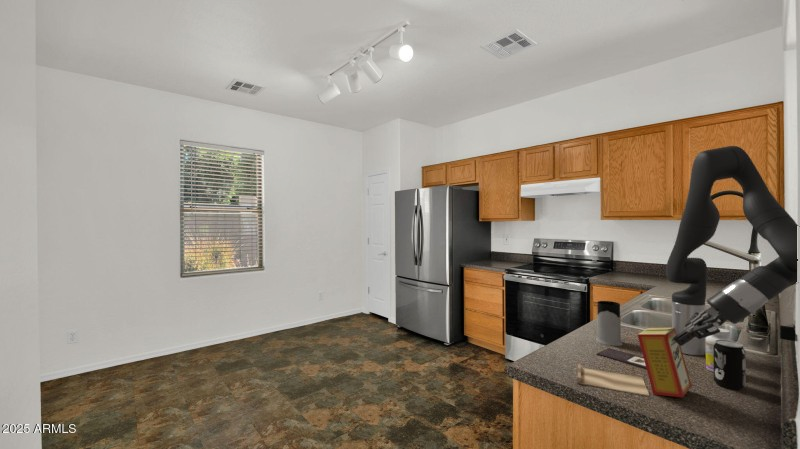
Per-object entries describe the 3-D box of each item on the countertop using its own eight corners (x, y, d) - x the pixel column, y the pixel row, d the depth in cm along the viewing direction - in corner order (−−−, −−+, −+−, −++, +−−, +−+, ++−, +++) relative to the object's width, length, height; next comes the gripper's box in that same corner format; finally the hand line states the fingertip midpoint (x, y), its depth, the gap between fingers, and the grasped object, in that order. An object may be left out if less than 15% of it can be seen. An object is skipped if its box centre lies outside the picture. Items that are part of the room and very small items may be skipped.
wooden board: (577, 368, 112) (577, 362, 112) (642, 378, 104) (642, 372, 104) (577, 383, 101) (577, 377, 101) (649, 396, 94) (649, 389, 94)
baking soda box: (683, 397, 90) (664, 333, 93) (653, 394, 95) (637, 333, 97) (691, 386, 96) (674, 326, 99) (663, 383, 101) (647, 326, 104)
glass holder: (594, 342, 135) (593, 303, 135) (599, 333, 146) (599, 297, 146) (621, 347, 130) (620, 306, 130) (624, 337, 141) (624, 299, 141)
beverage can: (707, 380, 102) (707, 339, 102) (728, 379, 103) (727, 338, 103) (730, 391, 96) (730, 347, 95) (752, 390, 96) (752, 346, 96)
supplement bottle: (727, 368, 110) (727, 327, 110) (740, 377, 104) (739, 333, 104) (701, 365, 113) (701, 325, 113) (712, 374, 106) (711, 331, 106)
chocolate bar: (609, 348, 128) (668, 363, 113) (609, 350, 128) (668, 366, 113) (596, 353, 123) (657, 370, 108) (596, 356, 123) (657, 374, 108)
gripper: (714, 285, 96) (659, 324, 102) (733, 294, 84) (670, 338, 90) (739, 306, 94) (682, 345, 99) (763, 319, 82) (696, 362, 88)
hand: (676, 342), depth 95 cm, fingers closed
